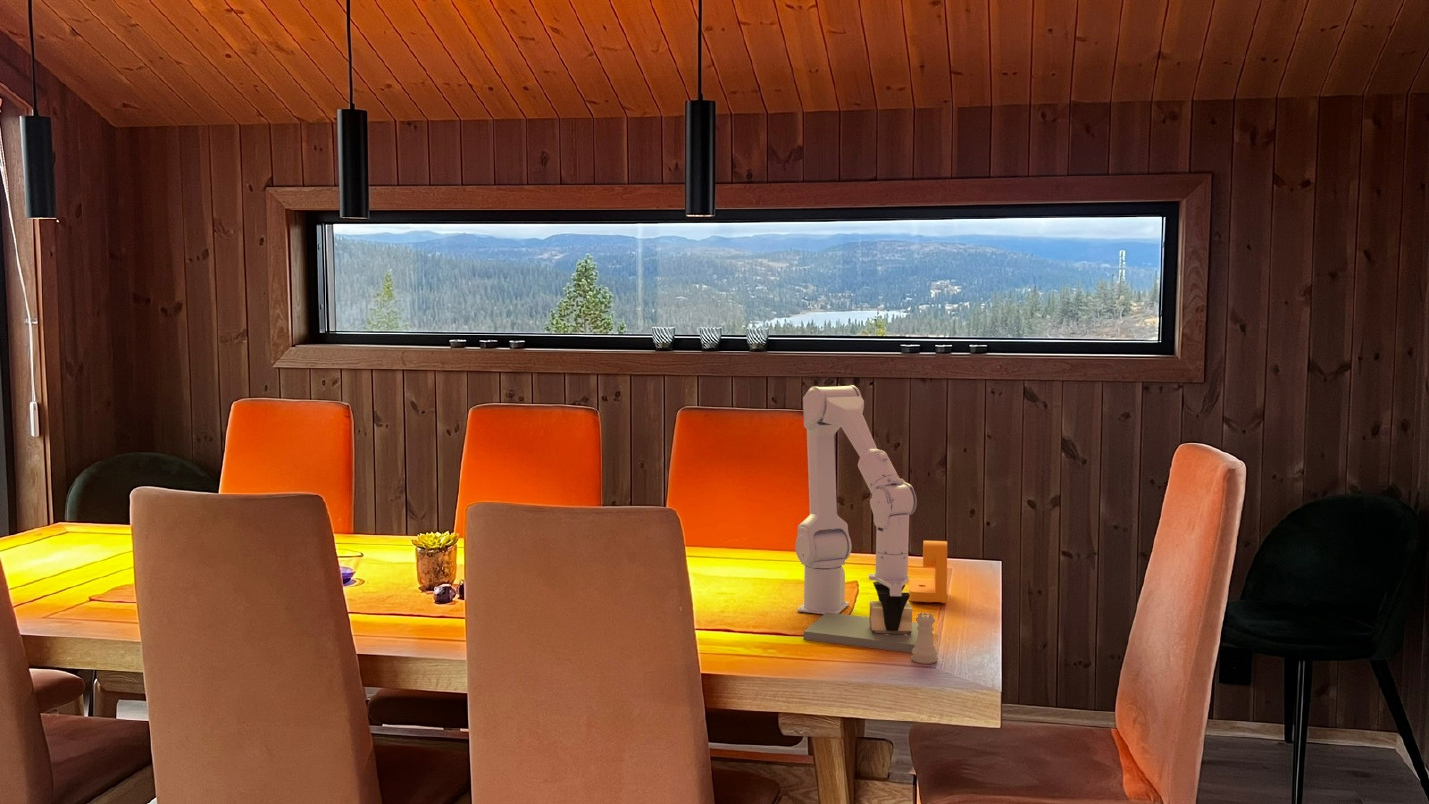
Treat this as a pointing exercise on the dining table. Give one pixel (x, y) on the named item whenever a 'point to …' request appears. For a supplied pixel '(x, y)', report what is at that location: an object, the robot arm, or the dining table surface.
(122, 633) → the dining table surface
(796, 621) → the dining table surface
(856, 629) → the board
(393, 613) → the dining table surface
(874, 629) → the block
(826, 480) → the robot arm
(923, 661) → the rook chess piece
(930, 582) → the bracket
